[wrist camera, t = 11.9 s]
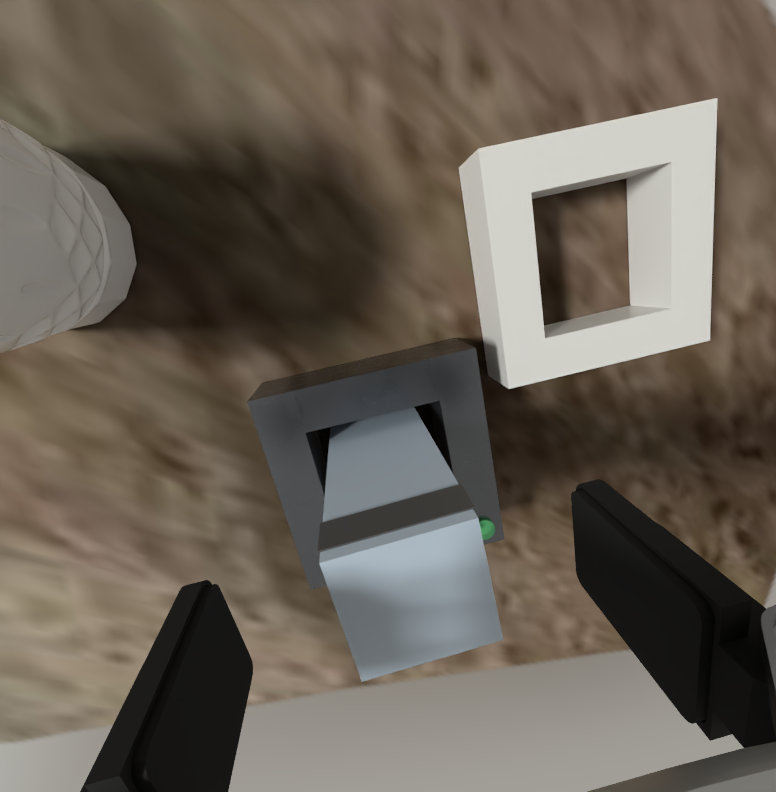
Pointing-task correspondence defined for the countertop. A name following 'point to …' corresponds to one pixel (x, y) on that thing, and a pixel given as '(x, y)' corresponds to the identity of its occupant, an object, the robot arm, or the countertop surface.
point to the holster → (647, 240)
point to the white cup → (56, 244)
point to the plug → (402, 548)
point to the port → (367, 397)
